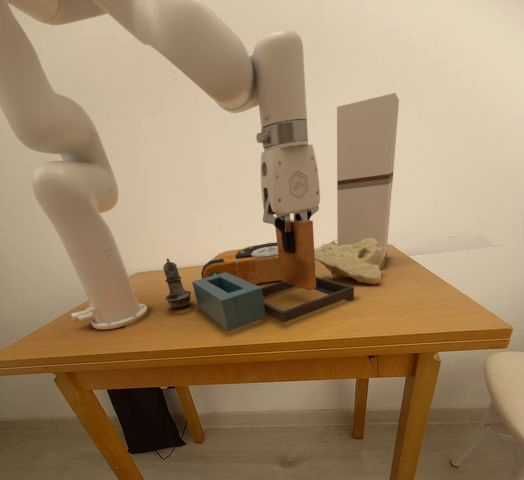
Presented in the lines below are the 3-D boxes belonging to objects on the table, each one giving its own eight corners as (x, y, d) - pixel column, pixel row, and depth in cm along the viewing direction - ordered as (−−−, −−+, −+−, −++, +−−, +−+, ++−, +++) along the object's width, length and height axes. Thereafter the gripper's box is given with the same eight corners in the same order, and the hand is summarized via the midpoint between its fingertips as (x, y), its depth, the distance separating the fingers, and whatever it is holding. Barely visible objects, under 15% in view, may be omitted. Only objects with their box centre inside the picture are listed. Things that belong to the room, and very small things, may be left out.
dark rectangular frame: (283, 326, 55) (282, 313, 53) (245, 304, 67) (243, 293, 66) (353, 299, 61) (354, 287, 60) (307, 283, 74) (306, 273, 72)
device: (210, 245, 91) (307, 231, 89) (216, 271, 96) (309, 259, 93) (196, 263, 72) (319, 246, 70) (204, 295, 76) (320, 280, 74)
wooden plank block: (316, 288, 58) (312, 220, 52) (309, 290, 58) (304, 222, 52) (287, 278, 66) (281, 219, 60) (281, 280, 66) (274, 220, 59)
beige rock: (395, 284, 71) (366, 237, 76) (401, 268, 64) (368, 218, 69) (336, 312, 73) (311, 264, 78) (335, 299, 66) (308, 248, 71)
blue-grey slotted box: (228, 334, 55) (221, 300, 51) (199, 310, 68) (191, 281, 64) (266, 320, 58) (261, 287, 54) (231, 300, 71) (225, 272, 67)
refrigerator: (386, 257, 84) (399, 99, 66) (382, 269, 76) (395, 92, 58) (345, 258, 89) (347, 111, 71) (337, 269, 81) (336, 106, 63)
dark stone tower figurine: (192, 302, 73) (179, 253, 66) (196, 310, 68) (182, 257, 62) (168, 308, 71) (152, 258, 65) (171, 317, 66) (154, 263, 60)
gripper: (255, 139, 44) (271, 263, 53) (336, 130, 49) (338, 243, 59) (233, 147, 49) (251, 258, 59) (308, 138, 55) (314, 240, 65)
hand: (294, 250), depth 59 cm, fingers closed on wooden plank block, 1 cm apart
